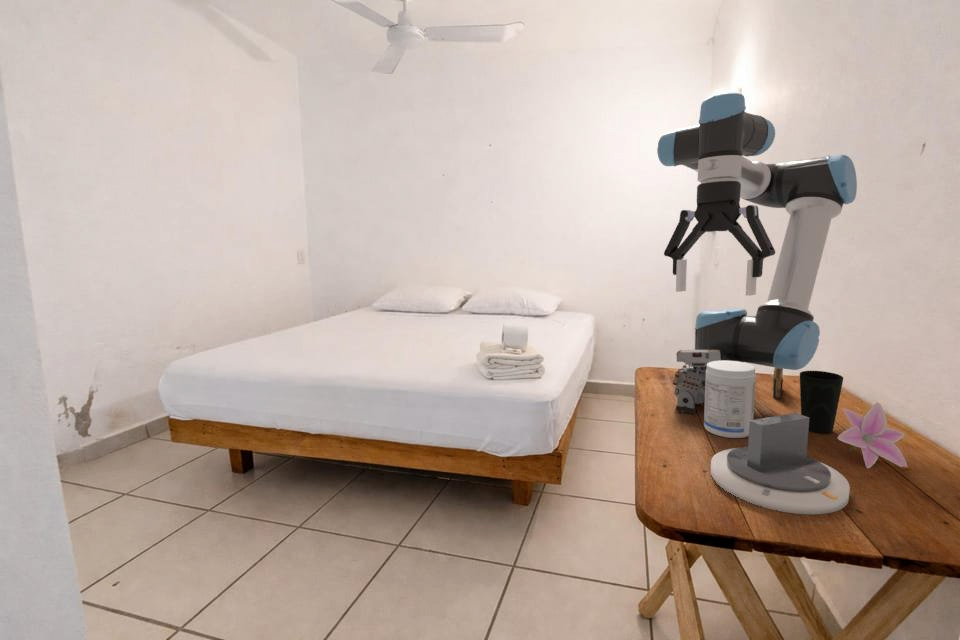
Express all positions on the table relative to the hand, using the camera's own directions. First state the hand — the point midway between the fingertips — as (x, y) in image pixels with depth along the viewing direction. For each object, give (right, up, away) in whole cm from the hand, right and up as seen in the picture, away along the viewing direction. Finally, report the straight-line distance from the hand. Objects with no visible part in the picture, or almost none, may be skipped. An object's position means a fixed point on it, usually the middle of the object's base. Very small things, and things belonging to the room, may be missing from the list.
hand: (713, 293), depth 97 cm
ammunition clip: (+33, -25, +34) cm, 54 cm away
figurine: (+8, -27, +24) cm, 37 cm away
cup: (+27, -29, +9) cm, 41 cm away
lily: (+26, -32, -6) cm, 41 cm away
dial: (+4, -31, -14) cm, 34 cm away
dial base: (+4, -33, -13) cm, 36 cm away
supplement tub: (+8, -30, +10) cm, 32 cm away
